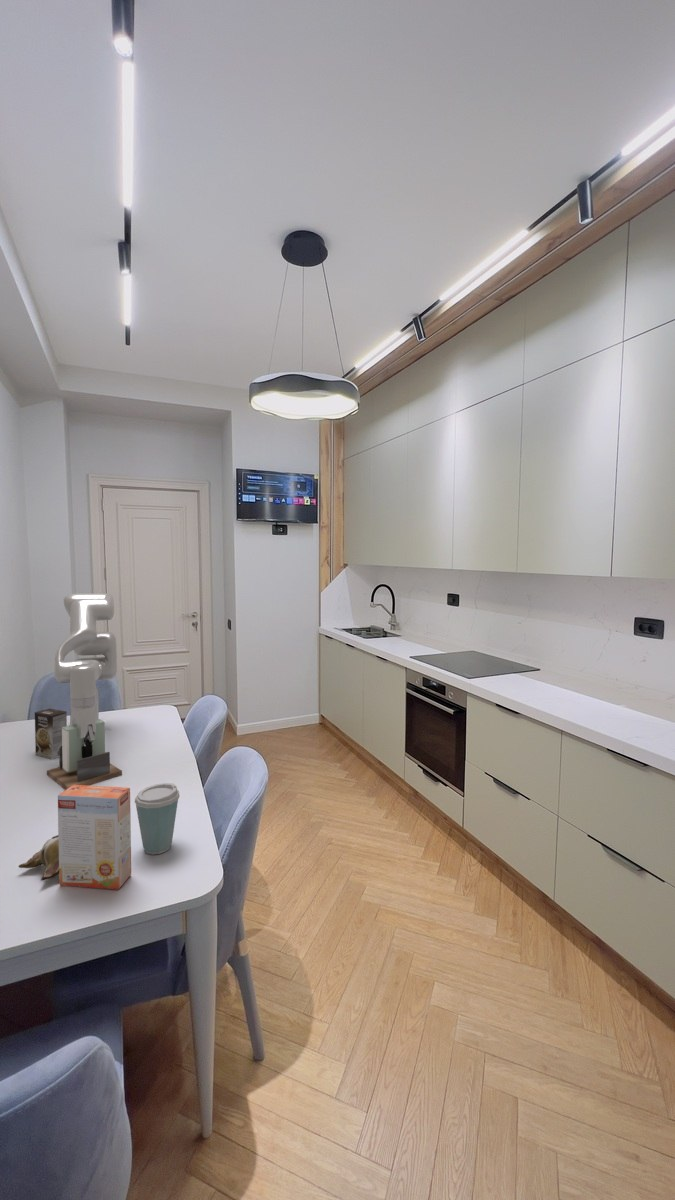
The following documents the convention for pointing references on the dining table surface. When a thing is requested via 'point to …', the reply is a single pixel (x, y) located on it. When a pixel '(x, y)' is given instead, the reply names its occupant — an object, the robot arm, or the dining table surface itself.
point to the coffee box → (49, 732)
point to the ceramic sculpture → (46, 859)
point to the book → (80, 745)
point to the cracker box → (94, 836)
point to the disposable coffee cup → (157, 816)
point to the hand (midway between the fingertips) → (84, 754)
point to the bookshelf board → (85, 771)
